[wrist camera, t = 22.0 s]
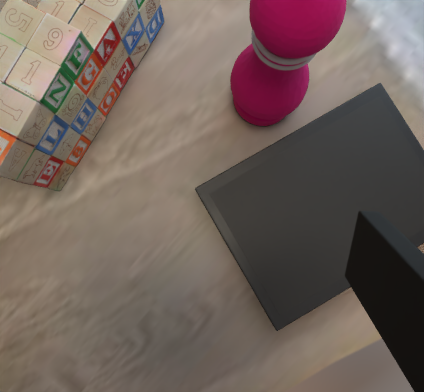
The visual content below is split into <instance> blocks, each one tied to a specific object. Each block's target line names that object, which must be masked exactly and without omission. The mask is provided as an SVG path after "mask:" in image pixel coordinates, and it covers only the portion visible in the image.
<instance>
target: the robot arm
mask: <svg viewBox="0 0 424 392" xmlns="http://www.w3.org/2000/svg"><path fill="white" fill-rule="evenodd" d="M345 277H346V279H347V281H348V282H349V284H350V286H351V287H352V289H353V291H354V292H355V294H356V296H357V297H358V299H359V301H360V302H361V304H362V306H363V307H364V309H365V311H366V312H367V314H368V316H369V317H370V319H371V320H372V322H373V324H374V325H375V327H376V329H377V330H378V332H379V334H380V335H381V337H382V339H383V340H384V342H385V343H386V345H387V347H388V349H389V350H390V352H391V354H392V355H393V357H394V358H395V360H396V362H397V363H398V365H399V367H400V368H401V370H402V372H403V373H404V375H405V377H406V378H407V380H408V382H409V383H410V385H411V387H412V388H413V390H414V392H424V253H422V252H421V251H420V250H419V249H418V248H417V247H416V246H415V245H414V244H413V243H412V242H411V241H410V240H409V239H408V238H407V237H406V236H405V235H404V234H403V233H401V232H400V231H399V230H398V229H397V228H396V227H395V226H394V225H393V224H392V223H391V222H390V221H389V220H388V219H387V218H386V217H385V216H384V215H383V214H382V213H380V212H375V211H359V212H358V217H357V221H356V226H355V230H354V235H353V239H352V244H351V248H350V253H349V258H348V262H347V267H346V271H345Z"/></svg>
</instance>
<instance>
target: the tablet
mask: <svg viewBox="0 0 424 392" xmlns="http://www.w3.org/2000/svg"><path fill="white" fill-rule="evenodd" d="M195 190H196V192H197V194H198V195H199V197H200V199H201V201H202V202H203V204H204V206H205V208H206V209H207V211H208V213H209V214H210V216H211V218H212V220H213V221H214V223H215V225H216V227H217V228H218V230H219V232H220V234H221V235H222V237H223V239H224V241H225V242H226V244H227V246H228V247H229V249H230V251H231V253H232V254H233V256H234V258H235V260H236V261H237V263H238V265H239V267H240V268H241V270H242V272H243V274H244V275H245V277H246V279H247V280H248V282H249V284H250V286H251V287H252V289H253V291H254V293H255V294H256V296H257V298H258V300H259V301H260V303H261V305H262V307H263V308H264V310H265V312H266V313H267V315H268V317H269V319H270V320H271V322H272V324H273V326H274V327H275V329H276V330H277V331H278V330H280V329H281V328H283V327H285V326H286V325H288V324H290V323H291V322H293V321H295V320H296V319H298V318H300V317H301V316H303V315H305V314H306V313H308V312H310V311H311V310H313V309H315V308H316V307H318V306H320V305H321V304H323V303H325V302H326V301H328V300H330V299H331V298H333V297H335V296H336V295H338V294H340V293H341V292H343V291H345V290H346V289H348V288H350V287H351V286H350V284H349V282H348V281H347V279H346V277H345V271H346V267H347V262H348V258H349V253H350V248H351V244H352V239H353V235H354V230H355V226H356V221H357V217H358V212H359V211H375V212H380V213H382V214H383V215H384V216H385V217H386V218H387V219H388V220H389V221H390V222H391V223H392V224H393V225H394V226H395V227H396V228H397V229H398V230H399V231H400V232H401V233H403V234H404V235H405V236H406V237H407V238H408V239H409V240H410V241H411V242H412V243H413V244H414V245H415V246H416V247H418V246H420V245H421V244H423V243H424V150H423V148H422V147H421V145H420V144H419V142H418V140H417V139H416V137H415V136H414V134H413V133H412V131H411V129H410V128H409V126H408V125H407V123H406V122H405V120H404V119H403V117H402V115H401V114H400V112H399V111H398V109H397V108H396V106H395V105H394V103H393V101H392V100H391V98H390V97H389V95H388V94H387V92H386V90H385V89H384V87H383V86H382V84H381V83H379V84H377V85H375V86H374V87H372V88H370V89H368V90H366V91H365V92H363V93H361V94H359V95H358V96H356V97H354V98H352V99H351V100H349V101H347V102H345V103H344V104H342V105H340V106H338V107H337V108H335V109H333V110H331V111H330V112H328V113H326V114H324V115H323V116H321V117H319V118H317V119H316V120H314V121H312V122H310V123H309V124H307V125H305V126H303V127H302V128H300V129H298V130H296V131H295V132H293V133H291V134H289V135H288V136H286V137H284V138H282V139H281V140H279V141H277V142H275V143H274V144H272V145H270V146H268V147H267V148H265V149H263V150H261V151H260V152H258V153H256V154H254V155H253V156H251V157H249V158H247V159H246V160H244V161H242V162H240V163H239V164H237V165H235V166H233V167H232V168H230V169H228V170H226V171H225V172H223V173H221V174H219V175H218V176H216V177H214V178H212V179H211V180H209V181H207V182H205V183H204V184H202V185H200V186H198V187H197V188H195Z"/></svg>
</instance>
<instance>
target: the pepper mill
mask: <svg viewBox="0 0 424 392" xmlns="http://www.w3.org/2000/svg"><path fill="white" fill-rule="evenodd" d="M345 11H346V0H251V1H250V22H251V26H252V44H251V45H249V46H248V47H247V48H246V49H245V50H244V51H243V52H242V53H241V54H240V55H239V56H238V58H237V60H236V61H235V64H234V67H233V70H232V73H231V80H230V82H231V90H232V94H233V101H234V105H235V108H236V110H237V112H238V113H239V115H240V116H241V117H242V118H243V119H244V120H246V121H247V122H249V123H251V124H254V125H258V126H269V125H272V124H275V123H277V122H279V121H280V120H282V119H283V118H284V117H285V116H286V115H288V114H289V113H291V112H292V111H294V110H295V109H296V108H297V107H298V106H299V104H300V103H301V101H302V100H303V98H304V96H305V93H306V91H307V88H308V83H309V68H308V64H307V63H309V62H310V61H311V60H312V59H313V57H314V56H315V55H316V53H317V52H319V51H320V50H322V49H323V48H325V47H326V46H327V45H328V44H329V43H330V42H331V41H332V39H333V38H334V37H335V35H336V34H337V32H338V31H339V29H340V27H341V24H342V22H343V19H344V15H345Z"/></svg>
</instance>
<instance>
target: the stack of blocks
mask: <svg viewBox="0 0 424 392" xmlns="http://www.w3.org/2000/svg"><path fill="white" fill-rule="evenodd" d="M163 23H164V18H163V13H162V8H161V5H160V0H41V1H40V3H39V5H38V6H37V8H35V7H33V6H32V5H30V4H28V3H26V2H24V1H23V0H8V1H7V2H6V4H5V6H4V7H3V9H2V11H1V12H0V177H4V178H8V179H12V180H14V181H17V182H21V183H26V184H30V185H36V186H40V187H45V188H48V189H52V190H56V191H60V190H61V189H62V188H63V186H64V184H65V183H66V181H67V179H68V178H69V176H70V175H71V173H72V171H73V170H74V168H75V167H76V166H77V165H78V163H79V162H80V160H81V158H82V157H83V155H84V153H85V152H86V150H87V149H88V147H89V145H90V144H91V142H92V140H93V139H94V137H95V136H96V134H97V132H98V131H99V129H100V128H101V126H102V124H103V123H104V121H105V119H106V115H107V114H108V113H109V111H110V109H111V107H112V106H113V104H114V103H115V101H116V99H117V98H118V96H119V94H120V91H121V90H122V88H123V87H124V85H125V84H126V82H127V80H128V79H129V77H130V76H131V74H132V72H133V70H134V68H136V67H137V66H138V64H139V63H140V61H141V59H142V58H143V56H144V54H145V53H146V51H147V50H148V48H149V46H150V44H151V42H152V41H153V39H154V38H155V36H156V34H157V33H158V31H159V29H160V28H161V26H162V25H163Z"/></svg>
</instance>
